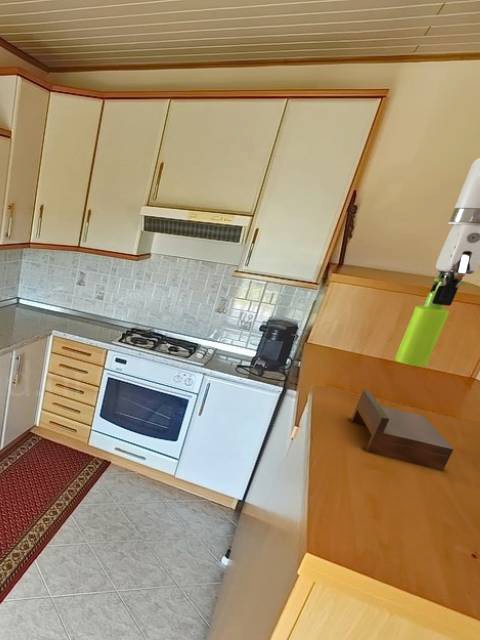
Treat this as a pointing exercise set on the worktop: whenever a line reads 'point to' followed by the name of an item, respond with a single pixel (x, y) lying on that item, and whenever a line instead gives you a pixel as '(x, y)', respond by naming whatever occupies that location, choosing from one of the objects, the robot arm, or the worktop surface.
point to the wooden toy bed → (401, 434)
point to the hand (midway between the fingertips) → (438, 302)
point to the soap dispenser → (423, 331)
